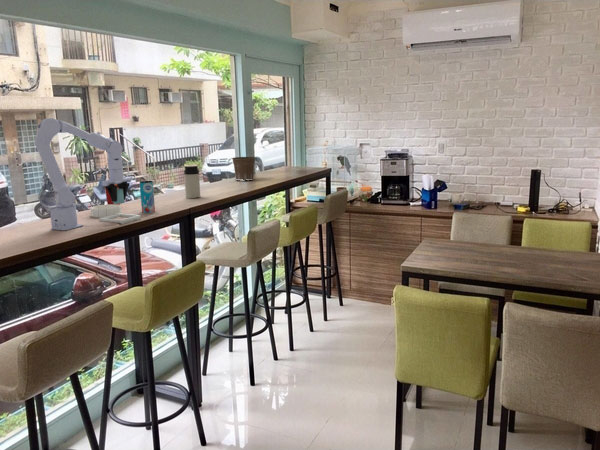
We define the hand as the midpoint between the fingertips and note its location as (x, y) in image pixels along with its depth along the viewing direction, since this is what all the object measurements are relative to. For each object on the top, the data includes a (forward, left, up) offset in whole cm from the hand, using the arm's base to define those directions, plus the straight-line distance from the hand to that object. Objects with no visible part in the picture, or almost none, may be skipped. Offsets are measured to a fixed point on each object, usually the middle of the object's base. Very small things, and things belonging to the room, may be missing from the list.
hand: (118, 200), depth 217 cm
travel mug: (+66, +10, -9) cm, 67 cm away
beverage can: (+19, +1, -9) cm, 21 cm away
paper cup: (+22, +25, -9) cm, 35 cm away
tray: (0, 0, -9) cm, 9 cm away
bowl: (+6, +14, -9) cm, 18 cm away
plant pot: (+141, +21, -9) cm, 143 cm away
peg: (0, 0, -1) cm, 1 cm away
